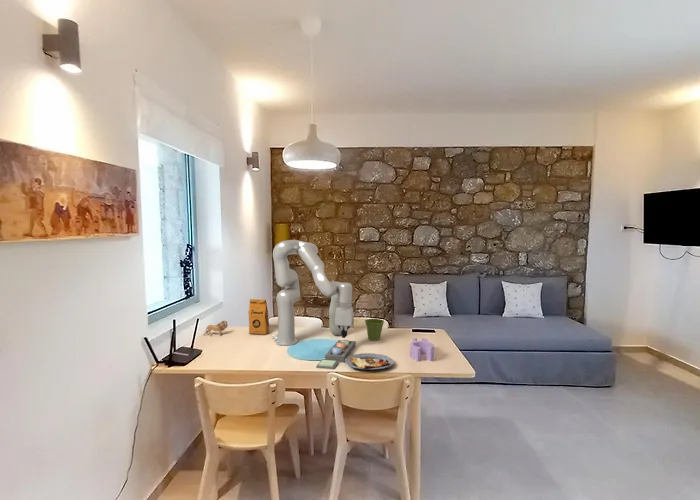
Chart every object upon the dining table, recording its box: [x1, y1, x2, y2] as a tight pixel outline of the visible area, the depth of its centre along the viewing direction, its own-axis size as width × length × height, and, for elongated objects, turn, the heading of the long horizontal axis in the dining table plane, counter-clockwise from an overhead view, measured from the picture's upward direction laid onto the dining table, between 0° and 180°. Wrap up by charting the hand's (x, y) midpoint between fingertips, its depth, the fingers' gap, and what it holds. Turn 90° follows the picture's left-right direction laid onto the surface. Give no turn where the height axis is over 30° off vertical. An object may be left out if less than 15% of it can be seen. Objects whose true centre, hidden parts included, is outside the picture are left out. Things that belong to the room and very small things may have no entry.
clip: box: [409, 337, 435, 362], centre depth 232 cm, size 20×12×7 cm, turn 179°
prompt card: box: [315, 359, 340, 370], centre depth 217 cm, size 9×9×1 cm
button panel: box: [324, 339, 357, 363], centre depth 235 cm, size 10×28×3 cm, turn 167°
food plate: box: [344, 352, 395, 371], centre depth 218 cm, size 25×23×4 cm
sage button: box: [340, 339, 350, 345], centre depth 244 cm, size 5×5×4 cm
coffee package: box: [248, 298, 270, 336], centre depth 274 cm, size 10×12×22 cm
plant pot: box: [364, 318, 385, 341], centre depth 262 cm, size 12×12×11 cm
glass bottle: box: [328, 294, 345, 336], centre depth 271 cm, size 10×10×28 cm
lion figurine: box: [203, 320, 229, 337], centre depth 270 cm, size 15×5×9 cm, turn 104°
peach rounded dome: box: [337, 342, 346, 350], centre depth 235 cm, size 5×5×4 cm
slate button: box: [331, 346, 342, 355], centre depth 227 cm, size 5×5×4 cm
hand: (344, 337), depth 244 cm, fingers closed
